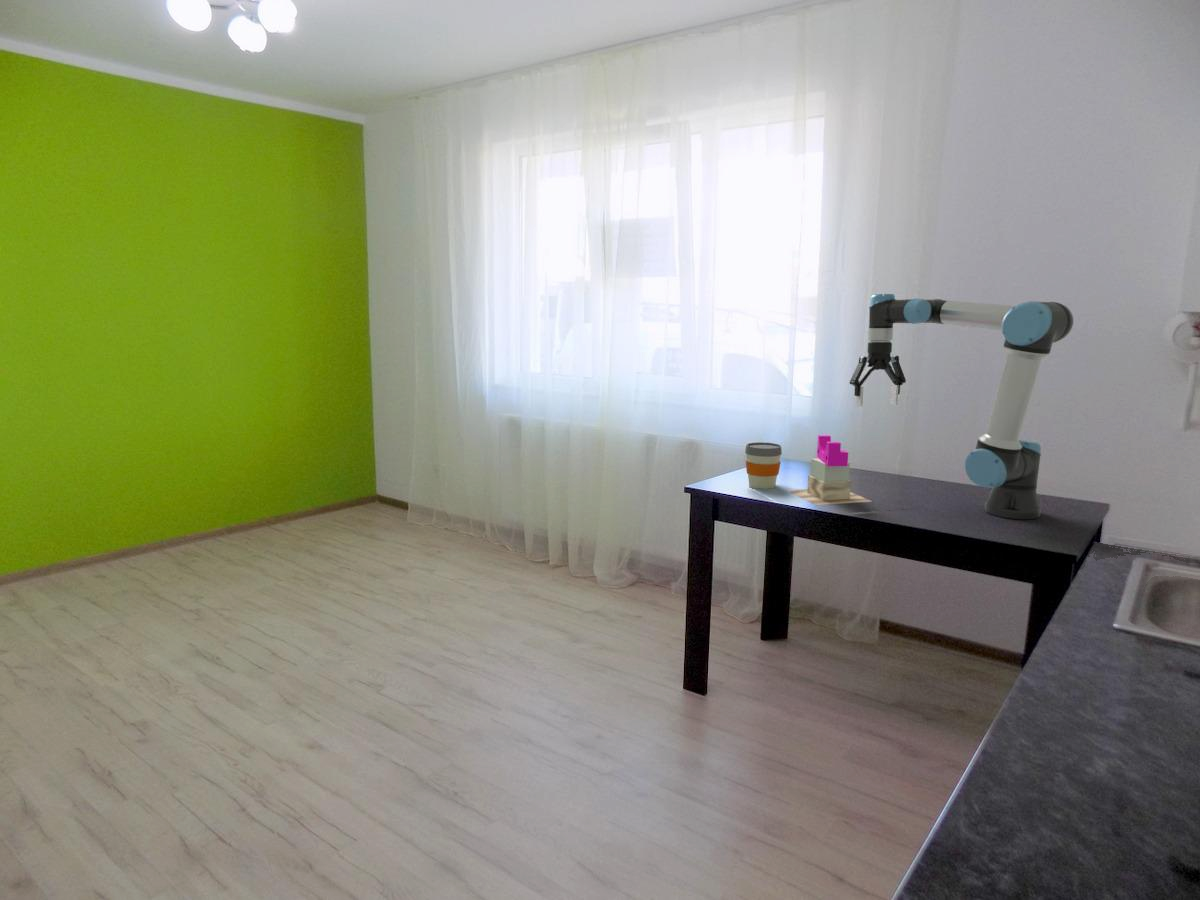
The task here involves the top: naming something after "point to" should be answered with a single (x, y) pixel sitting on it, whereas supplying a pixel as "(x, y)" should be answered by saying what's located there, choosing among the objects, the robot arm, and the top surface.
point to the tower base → (829, 489)
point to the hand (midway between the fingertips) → (876, 405)
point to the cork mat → (817, 501)
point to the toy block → (831, 452)
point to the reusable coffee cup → (763, 464)
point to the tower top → (829, 471)
